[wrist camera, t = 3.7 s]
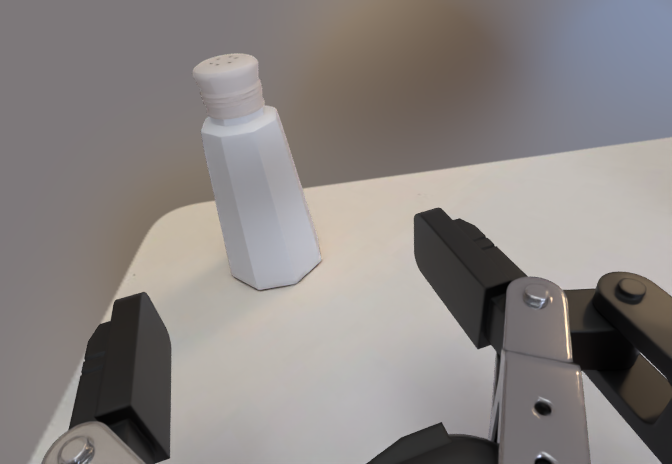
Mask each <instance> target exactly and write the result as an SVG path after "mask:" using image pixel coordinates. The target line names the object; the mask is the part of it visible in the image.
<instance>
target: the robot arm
mask: <svg viewBox="0 0 672 464" xmlns="http://www.w3.org/2000/svg"><path fill="white" fill-rule="evenodd" d="M414 254H415V259H416V263H417V265H418V268H419V270H420V271H421V273H422V274H423V276H424V277H425V278H426V280H427V281H428V282H429V284H430V285H431V286H432V288H433V289H434V291H435V292H436V293H437V295H438V296H439V297H440V299H441V300H442V301H443V303H444V304H445V305H446V307H447V308H448V310H449V311H450V312H451V314H452V315H453V316H454V318H455V319H456V320H457V322H458V323H459V325H460V326H461V327H462V329H463V330H464V331H465V333H466V334H467V335H468V337H469V338H470V340H471V341H472V342H473V344H474V345H475V346H476V348H477V349H480V348H483V347H486V346H489V345H492V347H493V348H494V349H495V350H496V358H495V370H494V383H493V396H492V409H491V420H490V428H489V436H488V440H487V439H484V438H480V437H477V436H471V435H465V434H448V433H447V431H446V429H445V427H444V426H443V424H442V422H441V423H438V424H435V425H433V426H430V427H428V428H425V429H422V430H420V431H417V432H415V433H412V434H409V435H407V436H404V437H402V438H400V439H399V440H397V441H396V442H395V443H393V444H392V445H391V446H389V447H388V448H387V449H385V450H384V451H383V452H381V453H380V454H379V455H377V456H376V457H375V458H373V459H372V460H371V461H369V462H368V463H366V464H591V460H590V450H589V441H588V431H587V421H586V411H585V401H584V391H583V382H582V373H581V371H583V372H584V373H585V374H586V375H587V376H588V377H589V379H590V380H591V381H592V382H593V383H594V384H595V386H596V387H597V388H598V389H599V390H600V392H601V393H602V394H603V395H604V396H605V397H606V399H607V400H608V401H609V402H610V403H611V404H612V406H613V407H614V408H615V409H616V410H617V411H618V413H619V414H620V415H621V416H622V417H623V418H624V420H625V421H626V422H627V423H628V424H629V425H630V427H631V428H632V429H633V430H634V431H635V432H636V434H637V435H638V436H639V437H640V438H641V439H642V441H643V442H644V443H645V444H646V445H647V446H648V448H649V449H650V450H651V451H652V452H653V453H654V455H655V456H656V457H657V458H658V459H659V460H660V462H661V463H662V464H672V297H671V296H670V295H669V294H668V293H666V292H665V291H664V290H663V289H661V288H660V287H659V286H657V285H656V284H655V283H653V282H652V281H650V280H649V279H647V278H645V277H642V276H640V275H637V274H633V273H629V272H611V273H608V274H605V275H603V276H602V277H601V278H600V279H599V281H598V284H597V287H596V289H578V290H562V289H561V288H560V287H559V286H557V285H556V284H555V283H553V282H551V281H549V280H546V279H543V278H539V277H528V276H527V275H526V274H525V273H524V272H523V271H522V270H520V269H519V268H518V267H517V266H516V265H515V264H514V263H513V262H512V261H511V260H510V259H509V258H508V257H507V256H506V255H505V254H504V253H503V252H502V251H501V250H500V249H499V248H498V247H497V246H496V247H495V246H494V244H493V243H492V242H491V241H490V240H489V239H488V238H486V237H485V235H484V234H483V233H482V232H481V231H480V230H479V229H478V228H477V227H476V226H475V225H472V224H470V223H468V222H466V221H464V220H462V219H460V218H459V219H456V220H452V219H451V218H450V217H449V216H448V215H447V214H446V213H445V212H444V211H443V210H442V209H441V208H435V209H432V210H428V211H425V212H421V213H418V214H416V215H415V216H414ZM640 352H641V353H642V354H643V355H644V356H645V357H646V358H647V359H648V360H649V361H650V362H651V363H652V364H653V365H654V366H655V367H656V368H657V369H658V370H659V371H660V372H661V373H662V374H663V375H664V376H665V377H666V378H667V379H666V378H665V377H664V376H663V375H662V374H661V373H660V372H659V371H658V370H657V369H656V368H655V367H654V366H653V365H651V364H650V363H649V362H648V361H647V360H646V359H645V358H644V357H643V356H642V355H641V354H640ZM84 359H85V361H84V362H83V367H82V371H81V373H82V376H80V381H79V385H78V390H77V394H76V399H75V403H74V408H73V412H72V417H71V421H70V426H69V430H68V431H67V432H65V433H64V434H63V435H61V436H60V437H59V438H58V439H57V440H56V441H55V442H54V443H53V444H52V446H51V447H50V448H49V450H48V451H47V453H46V454H45V456H44V458H43V461H42V463H41V464H155V463H158V462H161V461H163V460H166V459H169V458H170V418H171V342H170V337H169V334H168V331H167V329H166V327H165V325H164V323H163V321H162V320H161V318H160V316H159V314H158V312H157V310H156V309H155V307H154V305H153V303H152V301H151V300H150V298H149V296H148V295H147V293H145V292H142V293H138V294H135V295H131V296H128V297H124V298H121V299H118V300H115V302H114V305H113V311H112V316H111V321H109V322H106V323H102V324H100V325H99V326H98V327H97V329H96V330H95V332H94V333H93V335H92V336H91V338H90V339H89V341H88V344H87V349H86V353H85V358H84Z"/></svg>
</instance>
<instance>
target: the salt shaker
mask: <svg viewBox="0 0 672 464" xmlns="http://www.w3.org/2000/svg"><path fill="white" fill-rule="evenodd" d="M258 66H259V65H258V60H257V59H256V58H254V57H253V56H251V55H247V54H241V53H238V54H226V55H221V56H216V57H213V58H210V59H207V60H205V61H203V62H201V63H200V64H199V65H197V66H196V67H195V68H194V69H193V72H192V75H193V77H194V79H195V81H196V83H197V85H198V86H199V88H200V89H201V92H200V95H201V96H202V100H203V104H204V105H206V107H207V114H208V116H209V117H207V118H206V119H205V121H204V124H203V127H202V130H201V136H202V142H203V148H204V152H205V157H206V161H207V166H208V170H209V175H210V179H211V183H212V188H213V193H214V197H215V202H216V206H217V211H218V215H219V220H220V224H221V229H222V233H223V238H224V242H225V247H226V251H227V256H228V260H229V265H230V269H231V274H232V276H234V277H236V278H237V279H239V280H241V281H243V282H245V283H247V284H249V285H250V286H252V287H254V288H256V289H258V290H262V289H268V288H274V287H279V286H285V285H291V284H296V283H297V282H298V281H299V280H301V279H302V278H303V277H304V276H305V275H306V274H307V273H308V272H309V271H310V270H312V269H313V268H314V267H315V266H316V265H317V264H318V263H319V262H320V261H321V255H320V249H319V242H318V236H317V233H316V230H315V227H314V224H313V221H312V218H311V214H310V211H309V208H308V205H307V202H306V199H305V196H304V192H303V189H302V186H301V183H300V180H299V177H298V174H297V171H296V168H295V165H294V161H293V158H292V155H291V152H290V149H289V145H288V142H287V139H286V136H285V133H284V130H283V126H282V124H281V120H280V118H279V115H278V113H277V110H276V108H274V107H271V106H266V105H264V104H265V101H264V99H263V97H262V92H263V90H262V85H261V81H260V79H258V68H259V67H258Z"/></svg>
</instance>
